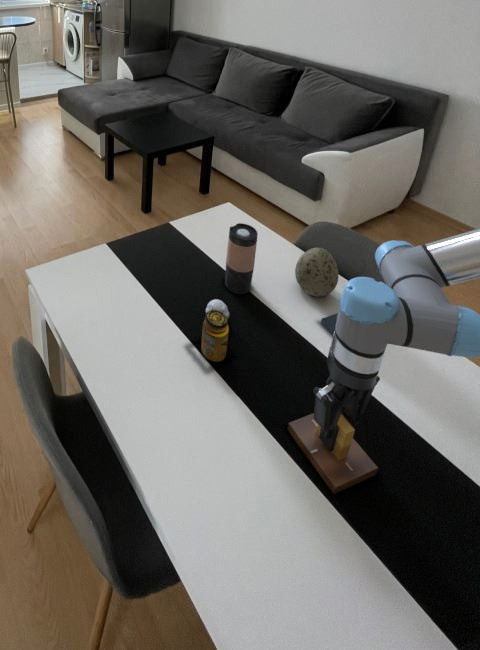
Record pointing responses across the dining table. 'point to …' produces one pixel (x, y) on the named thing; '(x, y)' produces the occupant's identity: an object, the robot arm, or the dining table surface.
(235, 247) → the travel mug
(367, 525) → the dining table surface
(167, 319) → the dining table surface
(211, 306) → the white lumpy ball
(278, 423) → the dining table surface
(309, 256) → the decorative egg
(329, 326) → the switch block
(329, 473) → the brown wooden flat block
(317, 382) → the dining table surface
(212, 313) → the condiment
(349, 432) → the yellow upright flat block
